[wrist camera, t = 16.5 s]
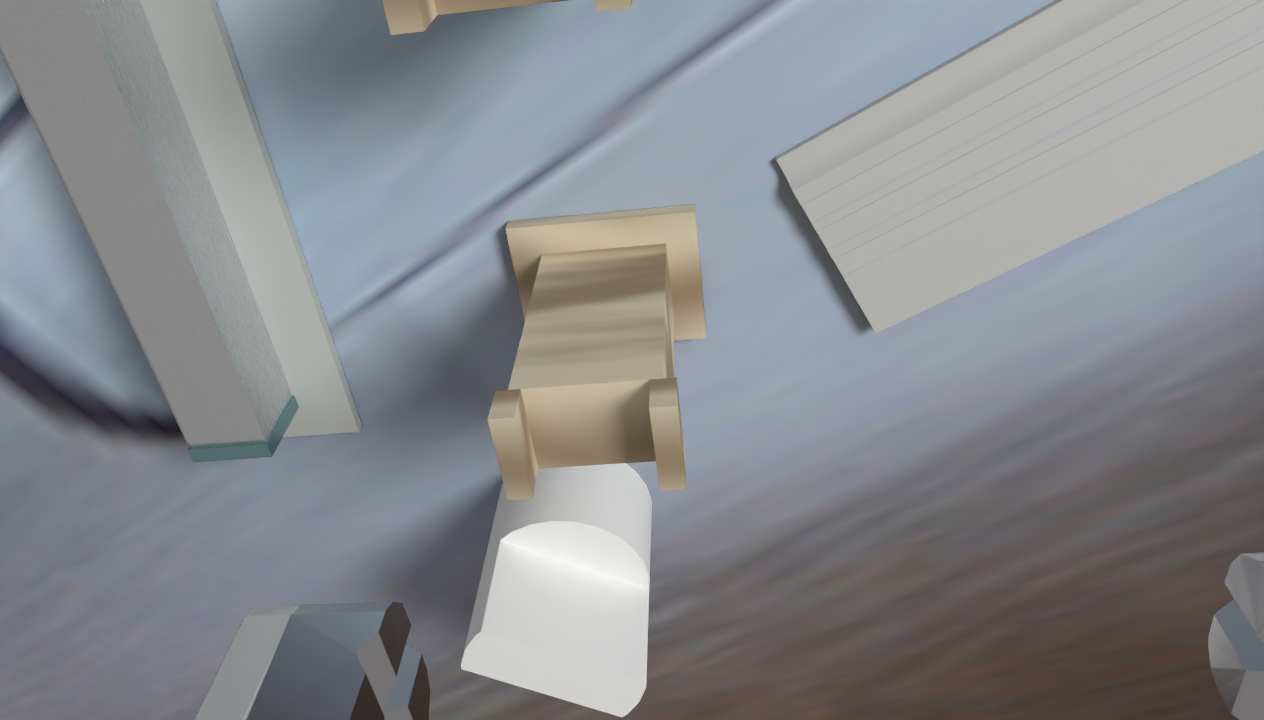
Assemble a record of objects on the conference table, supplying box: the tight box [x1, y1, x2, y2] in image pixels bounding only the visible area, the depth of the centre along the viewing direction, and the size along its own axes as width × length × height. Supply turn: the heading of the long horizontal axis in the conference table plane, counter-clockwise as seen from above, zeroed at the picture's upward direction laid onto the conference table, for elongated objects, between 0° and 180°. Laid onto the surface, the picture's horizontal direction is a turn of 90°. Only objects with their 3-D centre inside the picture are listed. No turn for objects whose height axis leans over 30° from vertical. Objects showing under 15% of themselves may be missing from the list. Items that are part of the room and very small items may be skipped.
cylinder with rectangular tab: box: [461, 463, 652, 717], centre depth 51 cm, size 9×9×12 cm
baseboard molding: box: [776, 0, 1264, 333], centre depth 40 cm, size 31×3×12 cm
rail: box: [0, 0, 299, 462], centre depth 42 cm, size 30×4×4 cm, turn 7°
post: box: [487, 205, 706, 500], centre depth 42 cm, size 7×9×14 cm
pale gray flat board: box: [0, 0, 362, 444], centre depth 44 cm, size 34×10×1 cm, turn 7°
